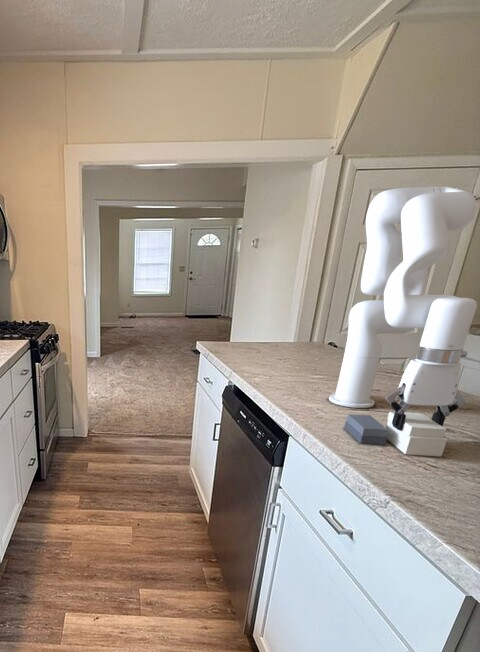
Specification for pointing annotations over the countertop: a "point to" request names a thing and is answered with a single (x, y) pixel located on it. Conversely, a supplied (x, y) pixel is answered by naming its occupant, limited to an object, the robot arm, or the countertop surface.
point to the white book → (420, 425)
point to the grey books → (366, 429)
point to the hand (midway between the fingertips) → (415, 428)
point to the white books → (415, 442)
